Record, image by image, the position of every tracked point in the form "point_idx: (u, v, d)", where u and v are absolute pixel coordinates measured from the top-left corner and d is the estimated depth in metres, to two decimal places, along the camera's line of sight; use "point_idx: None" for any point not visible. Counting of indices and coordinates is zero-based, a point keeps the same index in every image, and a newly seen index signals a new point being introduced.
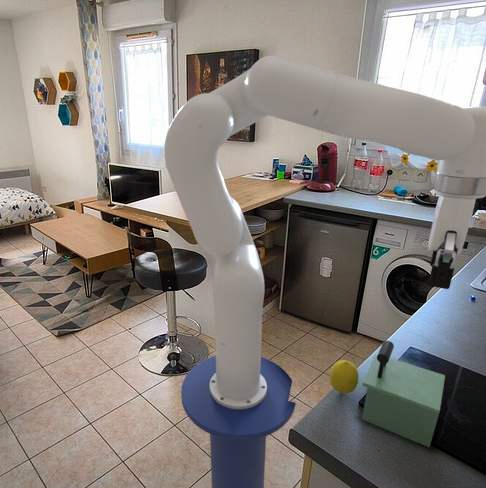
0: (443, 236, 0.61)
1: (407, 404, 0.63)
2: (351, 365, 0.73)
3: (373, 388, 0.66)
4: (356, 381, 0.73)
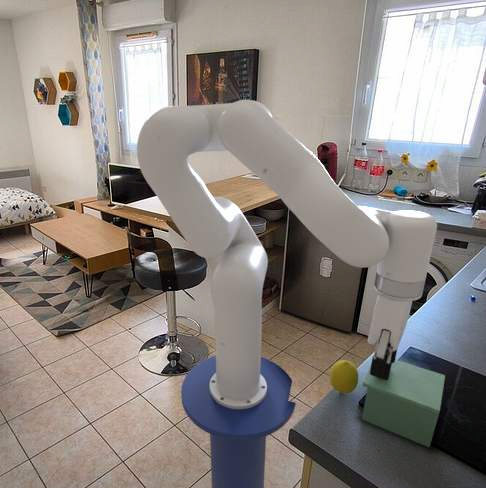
0: (379, 333, 0.62)
1: (407, 404, 0.63)
2: (351, 365, 0.73)
3: (373, 388, 0.66)
4: (356, 381, 0.73)
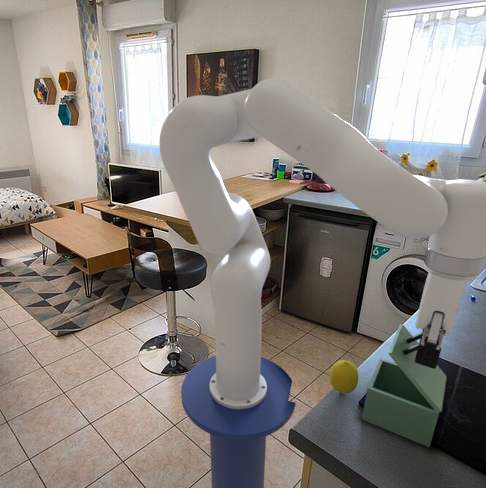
0: (430, 316, 0.56)
1: (407, 404, 0.63)
2: (351, 365, 0.73)
3: (397, 362, 0.62)
4: (356, 381, 0.73)
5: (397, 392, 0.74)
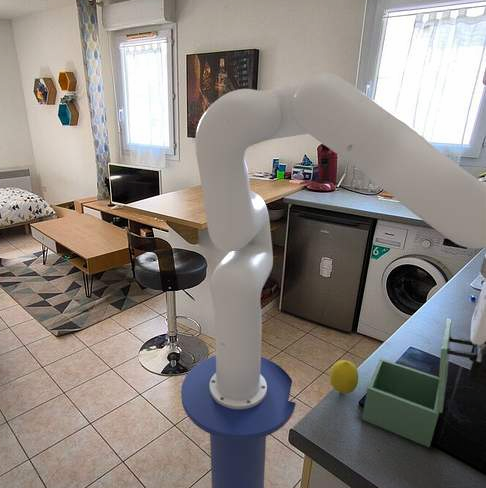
0: None
1: (407, 404, 0.63)
2: (351, 365, 0.73)
3: (442, 359, 0.57)
4: (356, 381, 0.73)
5: (397, 392, 0.74)
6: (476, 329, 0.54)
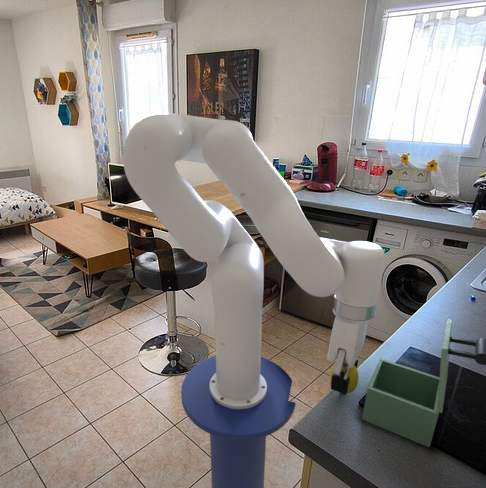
0: (336, 352, 0.68)
1: (407, 404, 0.63)
2: None
3: (443, 359, 0.57)
4: (356, 381, 0.73)
5: (397, 392, 0.74)
6: (328, 350, 0.70)
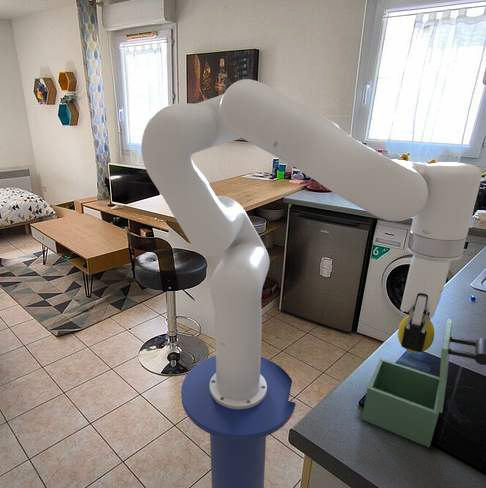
0: (414, 298, 0.57)
1: (407, 404, 0.63)
2: None
3: (443, 359, 0.57)
4: (432, 337, 0.62)
5: (397, 392, 0.74)
6: (403, 297, 0.58)
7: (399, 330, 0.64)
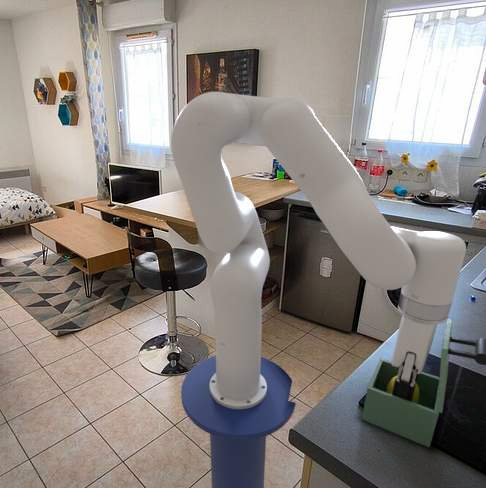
0: (403, 356, 0.61)
1: (407, 404, 0.63)
2: None
3: (443, 359, 0.57)
4: (418, 398, 0.67)
5: None
6: (393, 353, 0.62)
7: (387, 390, 0.70)
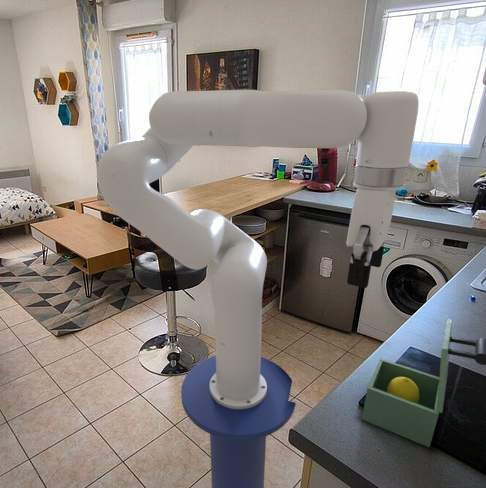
0: (358, 231, 0.57)
1: (407, 404, 0.63)
2: (412, 383, 0.67)
3: (443, 359, 0.57)
4: (417, 400, 0.67)
5: None
6: (348, 231, 0.58)
7: (387, 392, 0.69)
